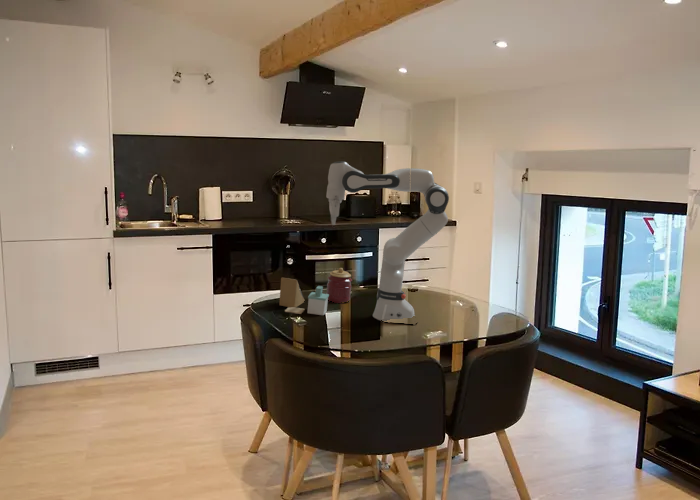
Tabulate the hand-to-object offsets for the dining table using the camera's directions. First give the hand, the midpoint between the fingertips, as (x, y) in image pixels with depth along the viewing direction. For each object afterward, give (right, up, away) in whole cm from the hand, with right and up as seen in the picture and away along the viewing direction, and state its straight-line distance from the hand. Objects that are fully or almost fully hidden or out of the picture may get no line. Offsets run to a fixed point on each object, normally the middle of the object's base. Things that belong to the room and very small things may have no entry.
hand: (332, 223), depth 308 cm
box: (-8, -44, +1) cm, 44 cm away
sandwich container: (-21, -41, +12) cm, 47 cm away
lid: (-7, -36, 0) cm, 36 cm away
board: (-19, -43, 0) cm, 47 cm away
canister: (+2, -40, +28) cm, 48 cm away
